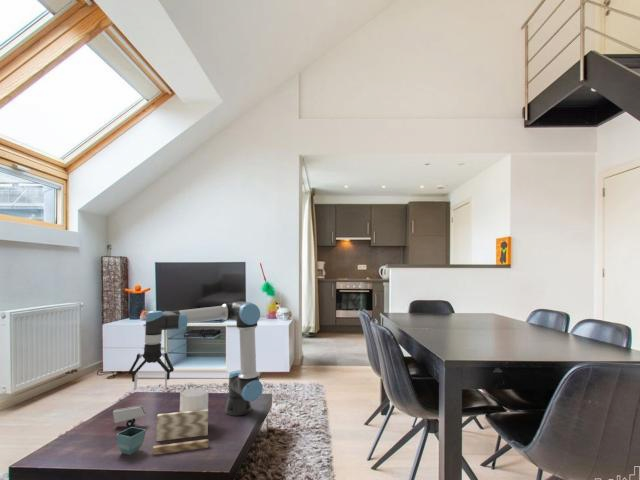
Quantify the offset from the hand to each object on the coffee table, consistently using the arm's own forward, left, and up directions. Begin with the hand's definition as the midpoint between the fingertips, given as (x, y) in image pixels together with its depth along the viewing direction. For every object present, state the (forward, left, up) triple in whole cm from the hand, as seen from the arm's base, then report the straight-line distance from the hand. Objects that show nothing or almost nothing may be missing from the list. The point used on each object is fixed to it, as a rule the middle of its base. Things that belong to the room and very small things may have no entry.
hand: (150, 387), depth 184 cm
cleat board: (-15, +5, -26) cm, 31 cm away
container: (-20, -14, -27) cm, 36 cm away
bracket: (+20, -26, -23) cm, 39 cm away
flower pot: (+7, +7, -26) cm, 28 cm away
